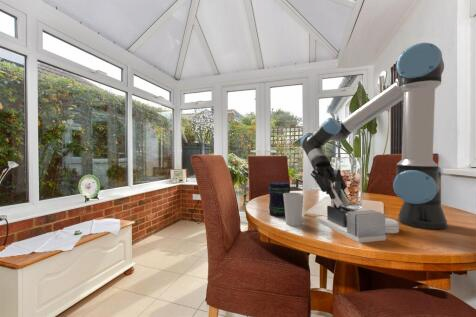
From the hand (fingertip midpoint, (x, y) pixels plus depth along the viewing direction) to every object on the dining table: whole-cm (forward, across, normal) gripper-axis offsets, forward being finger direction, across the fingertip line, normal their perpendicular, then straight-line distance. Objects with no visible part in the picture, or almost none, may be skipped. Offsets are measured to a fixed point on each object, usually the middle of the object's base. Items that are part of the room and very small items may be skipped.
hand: (343, 205), depth 86 cm
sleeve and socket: (+8, 0, -2) cm, 8 cm away
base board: (+7, 0, -5) cm, 9 cm away
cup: (0, +16, -13) cm, 21 cm away
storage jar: (-11, +16, -23) cm, 30 cm away
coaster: (+10, -13, -3) cm, 17 cm away
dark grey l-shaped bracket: (+6, 0, -3) cm, 6 cm away
